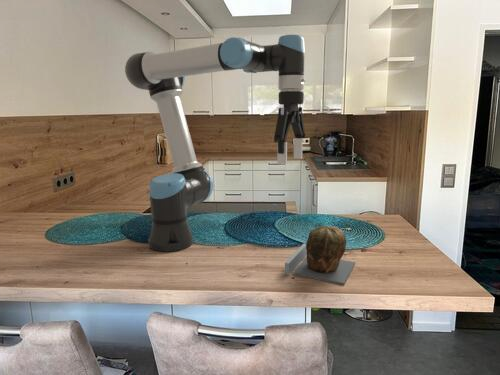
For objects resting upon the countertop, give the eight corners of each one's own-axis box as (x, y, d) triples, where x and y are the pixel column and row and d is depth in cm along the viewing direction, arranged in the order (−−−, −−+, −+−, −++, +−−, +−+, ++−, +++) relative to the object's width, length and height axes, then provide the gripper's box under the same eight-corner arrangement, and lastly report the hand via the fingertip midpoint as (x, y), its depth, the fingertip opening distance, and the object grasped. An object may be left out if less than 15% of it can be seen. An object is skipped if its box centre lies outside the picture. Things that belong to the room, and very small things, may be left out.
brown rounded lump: (346, 277, 96) (348, 234, 93) (304, 274, 98) (305, 232, 95) (343, 260, 106) (345, 221, 103) (306, 258, 108) (307, 220, 105)
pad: (293, 274, 99) (293, 272, 99) (309, 255, 111) (309, 254, 111) (344, 285, 93) (344, 282, 93) (355, 264, 105) (355, 262, 105)
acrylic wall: (284, 274, 99) (284, 262, 98) (303, 253, 113) (303, 243, 112) (288, 275, 99) (288, 263, 98) (307, 254, 112) (307, 243, 112)
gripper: (287, 89, 95) (286, 168, 99) (315, 91, 116) (314, 156, 121) (261, 90, 98) (262, 166, 103) (294, 92, 120) (293, 155, 124)
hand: (290, 161), depth 112 cm, fingers open, 13 cm apart
